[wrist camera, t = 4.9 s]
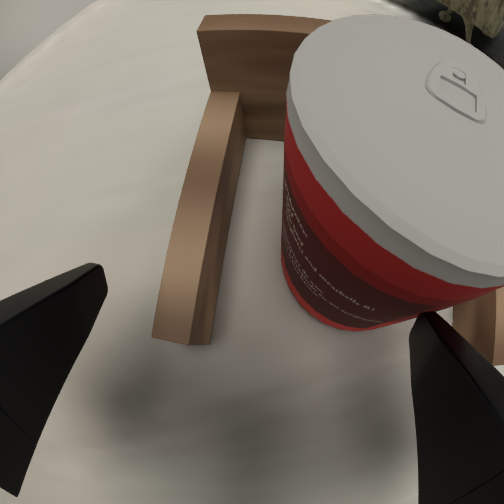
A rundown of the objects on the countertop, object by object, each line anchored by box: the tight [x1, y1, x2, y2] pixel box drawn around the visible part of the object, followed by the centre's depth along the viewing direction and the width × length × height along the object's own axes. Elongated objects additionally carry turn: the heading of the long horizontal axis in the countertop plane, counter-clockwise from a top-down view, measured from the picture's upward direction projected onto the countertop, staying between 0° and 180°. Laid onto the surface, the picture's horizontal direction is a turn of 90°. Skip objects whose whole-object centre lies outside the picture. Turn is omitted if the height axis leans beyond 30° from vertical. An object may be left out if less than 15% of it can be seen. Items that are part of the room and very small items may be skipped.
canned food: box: [281, 14, 504, 331], centre depth 10 cm, size 8×8×11 cm
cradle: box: [152, 14, 504, 366], centre depth 12 cm, size 14×16×8 cm
